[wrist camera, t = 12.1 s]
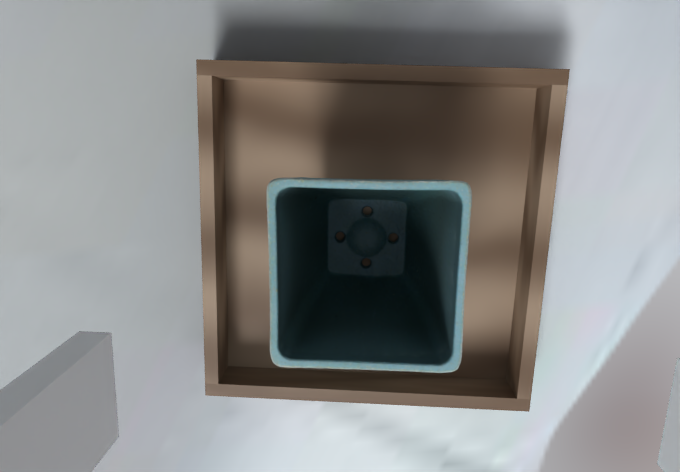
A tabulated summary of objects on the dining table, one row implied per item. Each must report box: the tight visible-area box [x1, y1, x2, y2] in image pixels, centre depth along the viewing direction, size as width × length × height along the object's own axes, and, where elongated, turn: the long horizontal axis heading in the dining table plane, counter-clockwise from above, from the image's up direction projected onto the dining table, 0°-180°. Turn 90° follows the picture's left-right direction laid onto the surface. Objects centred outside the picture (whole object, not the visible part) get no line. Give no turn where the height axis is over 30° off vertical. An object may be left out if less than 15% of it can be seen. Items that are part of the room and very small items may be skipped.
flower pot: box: [267, 177, 472, 373], centre depth 27 cm, size 9×9×9 cm
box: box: [196, 60, 570, 411], centre depth 30 cm, size 20×20×3 cm
